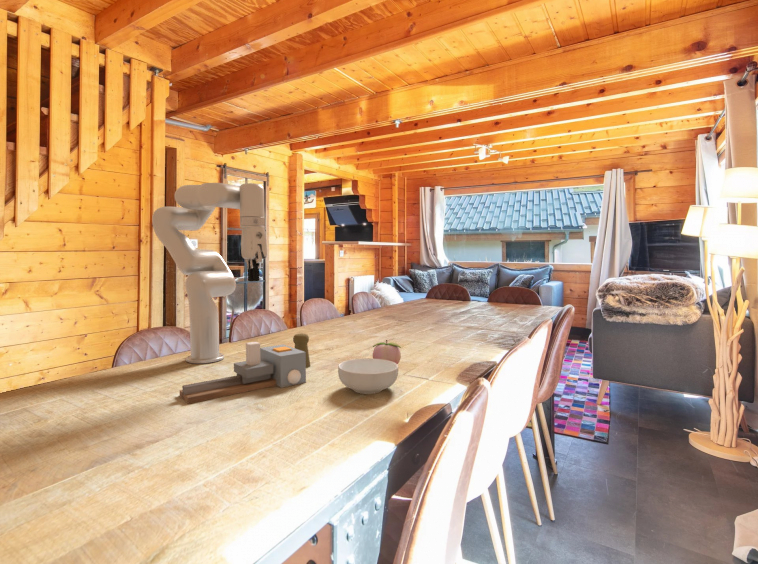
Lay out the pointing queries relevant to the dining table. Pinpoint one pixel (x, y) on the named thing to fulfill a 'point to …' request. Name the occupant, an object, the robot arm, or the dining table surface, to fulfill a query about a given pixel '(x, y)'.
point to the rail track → (221, 388)
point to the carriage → (253, 365)
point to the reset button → (281, 349)
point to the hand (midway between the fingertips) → (253, 280)
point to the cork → (302, 345)
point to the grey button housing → (286, 365)
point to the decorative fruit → (387, 352)
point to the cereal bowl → (367, 374)
